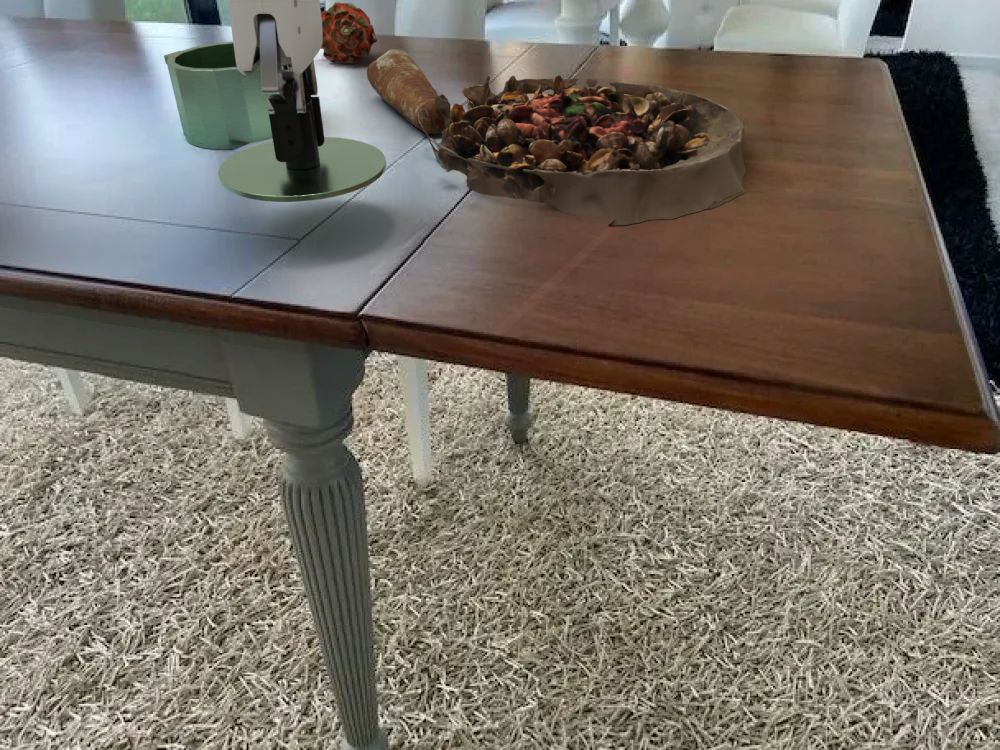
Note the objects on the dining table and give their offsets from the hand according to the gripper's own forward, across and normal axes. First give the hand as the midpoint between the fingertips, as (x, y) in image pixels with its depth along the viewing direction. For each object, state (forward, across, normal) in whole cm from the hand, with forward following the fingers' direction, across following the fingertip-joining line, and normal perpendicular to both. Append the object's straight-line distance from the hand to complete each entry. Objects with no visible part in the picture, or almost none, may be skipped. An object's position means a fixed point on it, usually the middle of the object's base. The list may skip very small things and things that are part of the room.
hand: (301, 150), depth 70 cm
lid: (+2, 0, 0) cm, 2 cm away
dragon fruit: (+8, -60, -7) cm, 60 cm away
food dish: (+7, -18, +25) cm, 32 cm away
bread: (+8, -34, +6) cm, 35 cm away
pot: (+8, -29, -14) cm, 33 cm away
